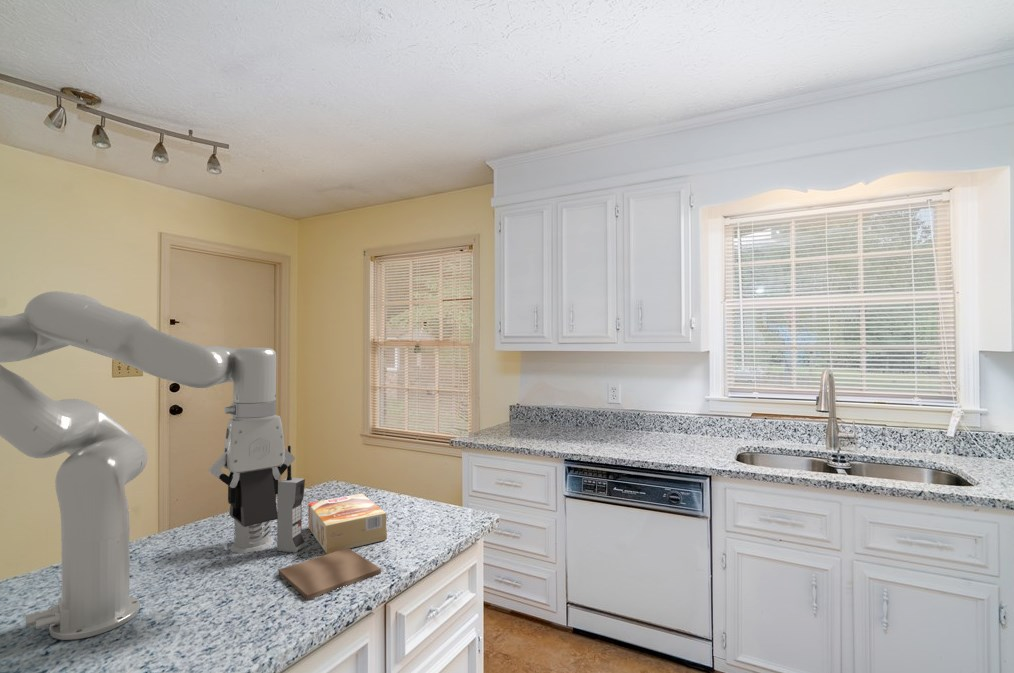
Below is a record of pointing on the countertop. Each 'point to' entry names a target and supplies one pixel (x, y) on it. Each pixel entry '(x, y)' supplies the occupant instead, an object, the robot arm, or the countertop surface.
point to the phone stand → (256, 498)
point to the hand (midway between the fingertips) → (253, 501)
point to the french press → (251, 537)
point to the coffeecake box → (346, 522)
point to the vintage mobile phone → (290, 513)
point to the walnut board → (328, 573)
